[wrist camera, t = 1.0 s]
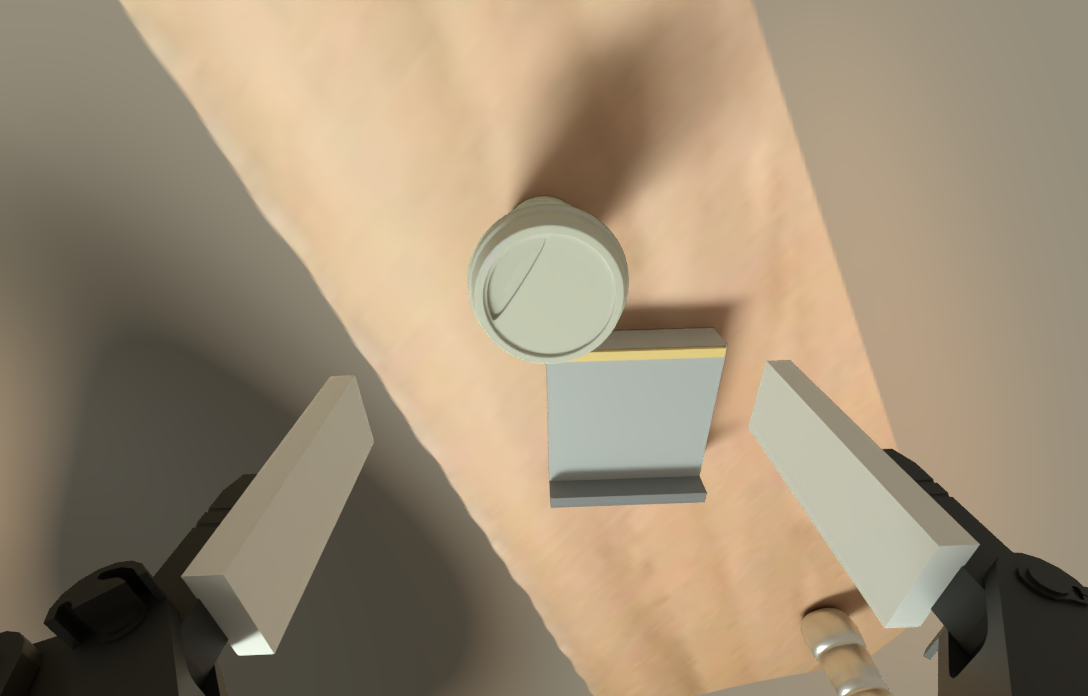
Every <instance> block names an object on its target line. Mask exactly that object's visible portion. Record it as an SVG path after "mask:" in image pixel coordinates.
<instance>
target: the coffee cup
mask: <svg viewBox="0 0 1088 696" xmlns="http://www.w3.org/2000/svg"><path fill="white" fill-rule="evenodd" d="M628 287H629V278H628V267H627V262H626V258H625V255H624V252H623V250H622V248H621V246H620V244H619V242H618V240H617V239H616V237H615V236H614V234H613V233H612V232H611V231H610V230H609V229H608V228H607V226H605V225H604V224H603V223H602V222H601V221H600V220H598V219H597V218H596V217H594V216H592V215H591V214H589V213H587V212H585V211H583V210H581V209H578V208H575V207H572V206H570V205H569V204H567V203H566V202H564V201H563V200H561V199H558V198H556V197H552V196H536V197H532V198H530V199H527V200H525V201H524V202H522V203H521V204H519V205H518V206H517V207H516V208H515V209H514V210H513V211H512V212H511V213H509V214H507V215H505V216H504V217H502V218H501V219H499V220H498V221H497V222H496V223H494V224H493V225H492V226H491V227H490V228H489V229H488V230H487V231H486V232H485V234H484V235H483V236H482V238H481V239H480V241H479V242H478V244H477V246H476V248H475V250H474V252H473V254H472V257H471V260H470V264H469V269H468V292H469V298H470V303H471V307H472V309H473V312H474V314H475V317H476V319H477V320H478V322H479V324H480V325H481V327H482V328H483V329H484V331H485V332H486V333H487V335H488V336H489V337H490V339H491V340H492V341H493V342H494V343H495V344H496V345H498V346H499V347H500V348H501V349H503V350H504V351H505V352H507V353H509V354H511V355H512V356H514V357H517V358H519V359H522V360H525V361H528V362H533V363H540V364H556V363H563V362H568V361H571V360H575V359H577V358H580V357H582V356H584V355H586V354H588V353H589V352H591V351H593V350H594V349H595V348H597V347H598V346H599V345H600V344H601V343H603V342H604V341H605V340H606V338H607V337H608V336H609V335H610V334H611V332H612V331H613V329H614V328H615V326H616V324H617V322H618V320H619V318H620V316H621V314H622V312H623V310H624V307H625V304H626V300H627V295H628Z"/></svg>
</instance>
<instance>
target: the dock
mask: <svg viewBox="0 0 1088 696" xmlns="http://www.w3.org/2000/svg"><path fill="white" fill-rule="evenodd" d="M727 346H728V345H727V344H726V342H725V341H724V340H723V339H722V337H721V336H720V335H719V334H718V333H717V331H716V330H715V329H714V328H686V329H654V330H622V331H612V332H611V334H610V335H609V336H608V337H607V338H606V340H605V341H604V342H603V343H601V344H600V345H599V346H598V347H597V348H595V349H594V350H593V351H591V352H589V353H588V354H586V355H584V356H582V357H580V358H577V359H575V360H571V361H568V362H563V363H556V364H546V370H547V415H548V460H549V485H550V505H551V508H557V507H585V506H613V505H640V504H668V503H696V502H705V499H706V495H707V492H706V490H705V487H704V485H703V483H702V481H701V479H700V476H699V475H700V471H701V466H702V461H703V457H704V452H705V448H706V443H707V438H708V434H709V429H710V425H711V420H712V415H713V411H714V406H715V402H716V397H717V392H718V388H719V383H720V379H721V374H722V369H723V365H724V360H725V356H726V351H727Z"/></svg>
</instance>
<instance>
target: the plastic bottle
mask: <svg viewBox="0 0 1088 696" xmlns="http://www.w3.org/2000/svg"><path fill="white" fill-rule="evenodd" d="M801 632H802V635H803V638H804V641H805V643H806V645H807V646H808V648H809V650H810V651H811V653H812V654H813V656H814V657H815V658H816V660H817V661H818V662H819V663H820V665H821V667H822V669H823V670H824V672H825V673H826V675H827V677H828V678H829V680H830V682H831V684H832V685H833V687H834V689H835V690H836V692H837V694H838V696H893V694H892V693H891V692H890V691H889V688H888V687H887V685H886V684H885V682H884V680H883V679H882V677H881V675H880V673H879V671H878V670H877V667H876V666H875V664H874V662H873V660H872V658H871V656H870V654H869V652H868V650H867V649H866V645H865V642H864V640H863V637H862V635H861V633H860V631H859V629H858V627H857V626H856V625H855V623H854V622H853V621H852V620H851V619H850V617H849V616H848V615H847V614H845V613H844V612H842V611H840V610H839V609H836V608H823V609H818V610H815V611H813V612H811V613H809V614H807V615H806V616H805V617H804V618H803V619H802V621H801Z"/></svg>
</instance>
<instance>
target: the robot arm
mask: <svg viewBox="0 0 1088 696" xmlns="http://www.w3.org/2000/svg"><path fill="white" fill-rule="evenodd" d="M749 430H750V431H751V433H752V434H753V436H754V437H755V438H756V440H757V441H758V443H759V444H760V446H761V447H762V449H763V450H764V452H765V453H766V455H767V456H768V458H769V459H770V461H771V462H772V463H773V465H774V466H775V468H776V469H777V471H778V472H779V474H780V475H781V477H782V478H783V480H784V481H785V483H786V484H787V486H788V487H789V488H790V490H791V491H792V493H793V494H794V496H795V497H796V499H797V500H798V502H799V503H800V505H801V506H802V508H803V509H804V511H805V512H806V513H807V515H808V516H809V518H810V519H811V521H812V522H813V524H814V525H815V527H816V528H817V530H818V531H819V533H820V534H821V536H822V537H823V538H824V540H825V541H826V543H827V544H828V546H829V547H830V549H831V550H832V552H833V553H834V555H835V556H836V558H837V559H838V561H839V562H840V563H841V565H842V566H843V568H844V569H845V571H846V572H847V574H848V575H849V577H850V578H851V580H852V581H853V583H854V584H855V586H856V587H857V588H858V590H859V591H860V593H861V594H862V596H863V597H864V599H865V600H866V602H867V603H868V605H869V606H870V608H871V609H872V611H873V612H874V613H875V615H876V616H877V618H878V619H879V621H880V622H881V624H882V625H883V627H884V628H900V627H920V625H921V624H922V623H923V621H924V620H925V619H926V617H927V616H928V614H929V613H930V612H931V610H932V611H933V612H934V613H935V615H936V616H937V617H938V618H939V620H940V621H941V622H942V623H943V625H944V626H943V628H942V629H941V630H940V632H939V633H938V634H937V635H936V637H935V638H934V639H933V640H932V642H931V643H930V644H929V646H928V647H927V648H926V651H925V653H924V657H926V658H928V659H931V658H932V657H933V655H934V654H935V653H936V652H937V651H938V696H1088V587H1083V586H1082V585H1081V584H1080V583H1079V582H1078V581H1077V580H1076V579H1074V578H1073V577H1071V576H1070V575H1069V574H1067V573H1065V572H1064V571H1063V570H1061V569H1060V568H1058V567H1056V566H1054V565H1052V564H1050V563H1048V562H1046V561H1044V560H1042V559H1040V558H1036V557H1033V556H1030V555H1026V554H1023V553H1013V552H1012V551H1010V550H1009V549H1008V548H1007V547H1006V546H1005V545H1004V544H1003V543H1002V542H1001V541H1000V540H999V539H997V538H996V537H995V536H994V535H993V534H992V533H991V532H990V531H989V530H988V529H987V528H985V527H984V526H983V525H982V524H981V523H980V522H979V521H978V520H977V519H976V518H975V517H973V515H971V514H970V513H969V512H968V511H967V510H966V509H965V508H964V507H963V506H961V504H960V503H958V502H957V501H956V500H955V499H954V498H953V497H949V495H948V492H947V491H945V490H944V489H943V488H942V487H941V486H940V485H939V484H938V483H934V481H933V479H932V478H931V477H930V476H929V475H928V474H927V473H926V472H925V471H924V470H923V469H921V468H920V467H919V466H918V465H917V464H916V463H915V462H913V461H911V460H910V459H908V458H906V457H905V456H903V455H902V454H900V453H898V452H897V451H895V450H893V449H881V448H880V447H879V446H878V445H877V444H876V443H875V442H874V441H873V440H872V439H871V438H870V437H869V436H868V435H867V434H866V433H865V432H864V431H863V430H862V429H861V428H860V427H859V426H858V425H856V424H855V423H854V422H853V421H852V420H851V419H850V418H849V417H848V416H847V415H846V414H845V413H844V412H843V411H842V410H841V409H840V408H839V407H838V406H837V405H836V404H835V403H834V402H833V401H832V400H831V399H830V398H829V397H828V396H827V395H826V394H825V393H824V392H823V391H821V390H820V389H819V388H818V387H817V386H816V385H815V384H814V383H813V382H812V381H811V380H810V379H809V378H808V377H807V376H806V375H805V374H804V373H803V372H802V371H801V370H800V369H799V368H798V367H797V366H796V365H795V364H794V363H793V362H792V361H791V360H779V361H766V365H765V368H764V372H763V376H762V379H761V383H760V387H759V391H758V394H757V398H756V402H755V405H754V409H753V413H752V417H751V420H750V424H749ZM373 443H374V440H373V437H372V433H371V430H370V426H369V423H368V419H367V416H366V412H365V409H364V405H363V402H362V398H361V395H360V391H359V388H358V384H357V381H356V378H355V376H331V377H330V378H329V379H328V380H327V382H326V383H325V385H324V386H323V387H322V389H321V390H320V391H319V393H318V394H317V395H316V397H315V398H314V399H313V401H312V402H311V403H310V405H309V406H308V408H307V409H306V410H305V412H304V413H303V414H302V415H301V417H300V418H299V419H298V421H297V422H296V423H295V425H294V426H293V428H292V429H291V430H290V431H289V433H288V434H287V435H286V437H285V438H284V439H283V441H282V442H281V443H280V445H279V446H278V448H277V449H276V450H275V451H274V453H273V454H272V456H271V457H270V458H269V460H268V461H267V462H266V463H265V465H264V466H263V467H262V469H261V470H260V472H259V473H258V474H244V475H242V476H241V477H240V478H239V479H237V480H236V481H235V482H233V483H232V484H231V485H230V486H228V487H227V488H226V489H224V490H223V491H222V492H221V494H220V495H219V496H218V497H217V499H216V500H215V501H214V502H213V504H212V505H211V506H210V508H209V511H208V512H205V514H204V515H203V516H202V517H201V519H200V520H199V521H198V522H197V524H196V527H195V528H192V530H191V531H190V532H189V533H188V535H187V536H186V537H185V538H184V540H183V541H182V542H181V543H180V544H179V546H178V547H177V548H176V550H175V551H174V552H173V553H172V554H171V556H170V557H169V558H168V559H167V561H166V562H165V563H164V564H163V566H162V567H161V568H160V569H159V571H158V572H157V573H156V574H155V576H154V577H152V575H151V574H150V573H149V572H148V570H147V569H146V568H145V566H144V565H143V564H142V563H138V562H135V561H125V562H118V563H114V564H112V565H109V566H106V567H104V568H101V569H98V570H97V571H95V572H93V573H92V574H90V575H88V576H86V577H85V578H83V579H81V580H79V581H78V582H77V583H76V584H74V585H73V586H72V587H71V588H70V589H68V590H67V591H66V592H64V593H63V594H62V595H61V596H60V597H59V599H58V600H57V601H56V602H55V603H54V605H53V606H52V607H51V608H50V609H49V612H48V614H47V616H46V619H45V621H44V624H45V625H46V626H47V627H48V628H49V629H50V630H51V631H52V632H54V633H55V634H56V635H57V636H56V637H53V638H50V639H47V640H44V641H41V642H38V643H34V644H32V643H31V642H30V641H29V640H27V639H26V638H25V637H24V636H23V635H22V634H21V633H19V632H10V631H6V632H2V633H0V696H227V691H226V686H225V681H224V676H223V671H222V667H221V665H220V664H219V662H218V660H217V658H218V657H219V655H220V653H221V651H222V649H223V648H224V646H225V644H226V643H227V641H228V642H229V644H230V645H231V646H232V648H233V649H234V651H235V652H236V653H237V654H238V655H261V654H275V651H276V649H277V647H278V645H279V643H280V641H281V639H282V636H283V634H284V632H285V630H286V628H287V626H288V624H289V622H290V619H291V617H292V615H293V613H294V611H295V609H296V607H297V605H298V602H299V600H300V598H301V596H302V594H303V592H304V590H305V587H306V585H307V583H308V581H309V579H310V577H311V575H312V573H313V571H314V568H315V566H316V564H317V562H318V560H319V558H320V556H321V553H322V551H323V549H324V547H325V545H326V543H327V541H328V539H329V537H330V534H331V532H332V530H333V528H334V526H335V524H336V522H337V519H338V517H339V515H340V513H341V511H342V509H343V507H344V505H345V502H346V500H347V498H348V496H349V494H350V492H351V490H352V488H353V486H354V483H355V481H356V479H357V477H358V475H359V473H360V471H361V468H362V466H363V464H364V462H365V460H366V458H367V456H368V454H369V452H370V449H371V447H372V445H373Z"/></svg>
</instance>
